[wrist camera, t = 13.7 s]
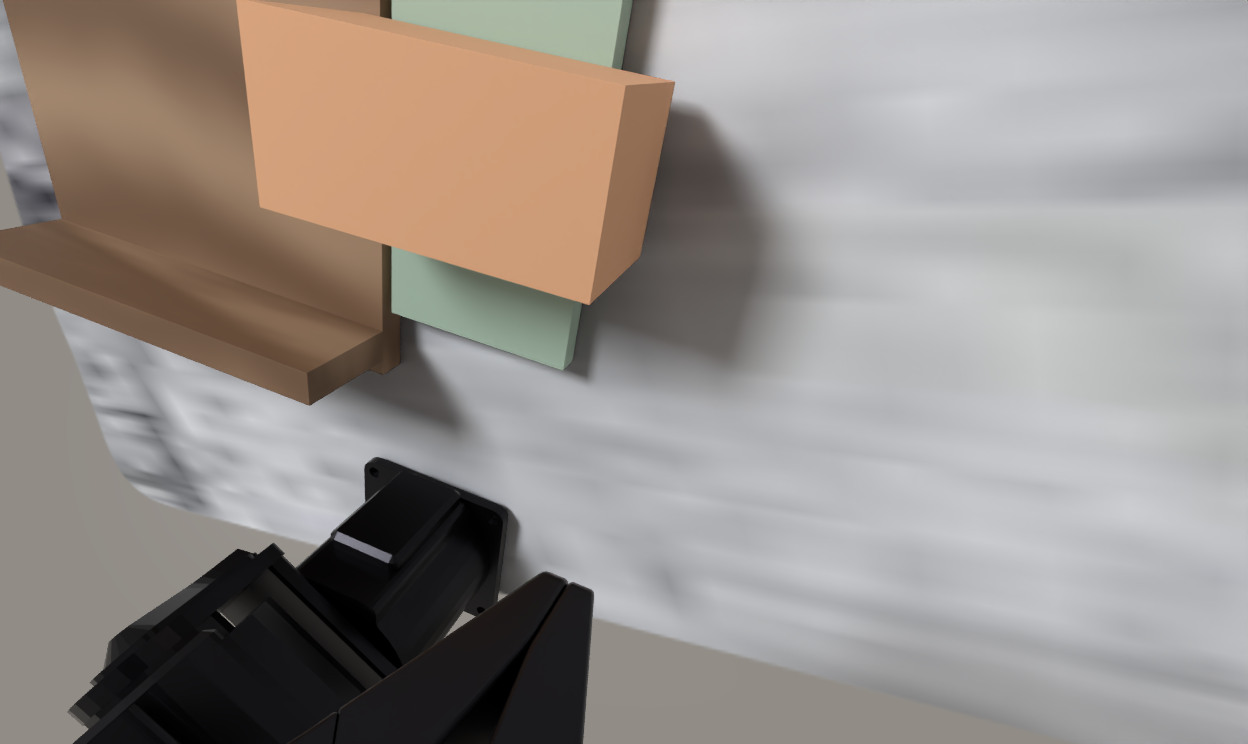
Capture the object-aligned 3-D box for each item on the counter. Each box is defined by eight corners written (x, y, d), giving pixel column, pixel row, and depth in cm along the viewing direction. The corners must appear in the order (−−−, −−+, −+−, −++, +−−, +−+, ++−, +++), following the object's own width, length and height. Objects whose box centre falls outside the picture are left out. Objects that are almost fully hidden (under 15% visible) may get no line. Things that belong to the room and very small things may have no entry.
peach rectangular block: (640, 256, 17) (589, 305, 14) (368, 181, 19) (259, 207, 15) (675, 81, 15) (625, 85, 12) (364, 13, 17) (236, -3, 13)
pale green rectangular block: (405, 304, 22) (572, 360, 21) (391, 312, 21) (563, 370, 20) (411, -151, 16) (651, -109, 14) (391, -160, 15) (641, -118, 14)
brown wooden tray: (399, 363, 23) (310, 421, 19) (98, 255, 26) (-31, 286, 22) (405, -290, 14) (243, -422, 11) (-50, -345, 17) (-306, -464, 13)
